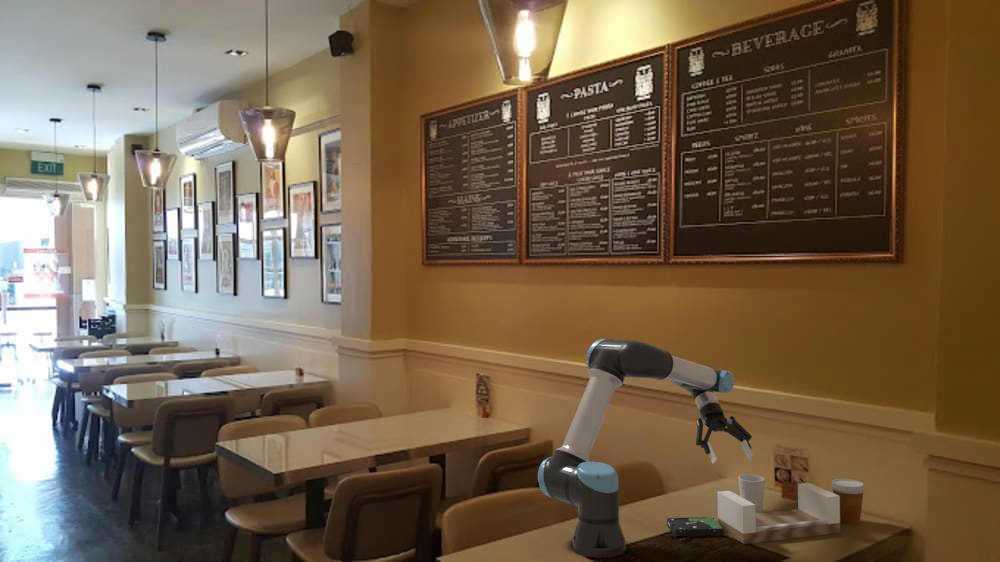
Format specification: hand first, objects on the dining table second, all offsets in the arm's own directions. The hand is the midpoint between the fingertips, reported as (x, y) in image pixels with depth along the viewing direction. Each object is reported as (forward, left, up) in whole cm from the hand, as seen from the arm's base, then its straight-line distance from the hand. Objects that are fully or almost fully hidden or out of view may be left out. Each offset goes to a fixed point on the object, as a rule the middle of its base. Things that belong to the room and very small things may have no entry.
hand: (733, 460), depth 235 cm
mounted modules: (+21, -12, -12) cm, 27 cm away
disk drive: (+3, -29, -16) cm, 33 cm away
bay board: (+21, -12, -15) cm, 29 cm away
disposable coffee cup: (+33, +10, -15) cm, 38 cm away
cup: (+9, -5, -15) cm, 19 cm away
